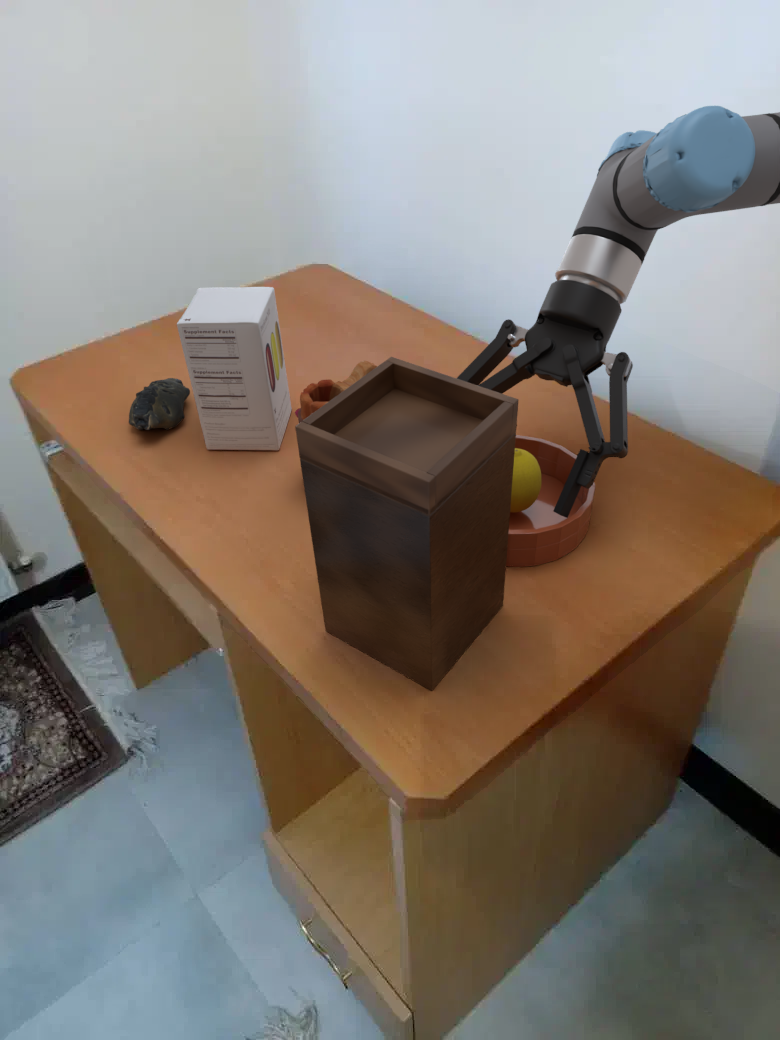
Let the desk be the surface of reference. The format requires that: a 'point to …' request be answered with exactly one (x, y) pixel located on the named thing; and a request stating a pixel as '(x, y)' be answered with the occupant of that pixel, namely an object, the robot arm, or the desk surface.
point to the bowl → (548, 510)
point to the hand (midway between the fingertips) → (502, 491)
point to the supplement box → (237, 367)
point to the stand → (411, 566)
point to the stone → (159, 405)
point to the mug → (328, 390)
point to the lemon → (524, 481)
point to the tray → (408, 432)
